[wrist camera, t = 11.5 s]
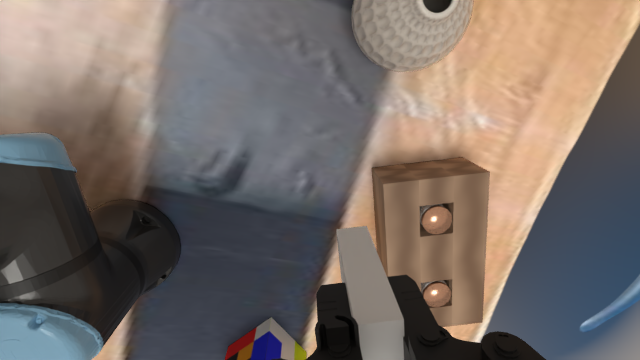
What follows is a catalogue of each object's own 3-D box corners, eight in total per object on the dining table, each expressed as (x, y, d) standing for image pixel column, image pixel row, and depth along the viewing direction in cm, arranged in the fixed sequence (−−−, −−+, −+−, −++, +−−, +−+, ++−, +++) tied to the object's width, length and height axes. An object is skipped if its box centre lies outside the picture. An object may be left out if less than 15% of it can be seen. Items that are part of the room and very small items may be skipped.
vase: (413, -54, 43) (476, -129, 27) (454, 39, 46) (532, 21, 30) (327, 4, 44) (338, -35, 28) (373, 90, 48) (407, 98, 32)
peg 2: (409, 279, 57) (424, 308, 49) (408, 258, 55) (423, 285, 48) (432, 276, 57) (450, 305, 49) (432, 255, 55) (451, 282, 48)
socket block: (380, 299, 59) (391, 333, 51) (371, 167, 51) (383, 184, 44) (459, 290, 59) (482, 322, 51) (462, 157, 51) (489, 171, 44)
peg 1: (407, 214, 53) (422, 235, 46) (406, 190, 52) (422, 208, 45) (432, 211, 53) (451, 232, 46) (432, 187, 52) (452, 205, 45)
